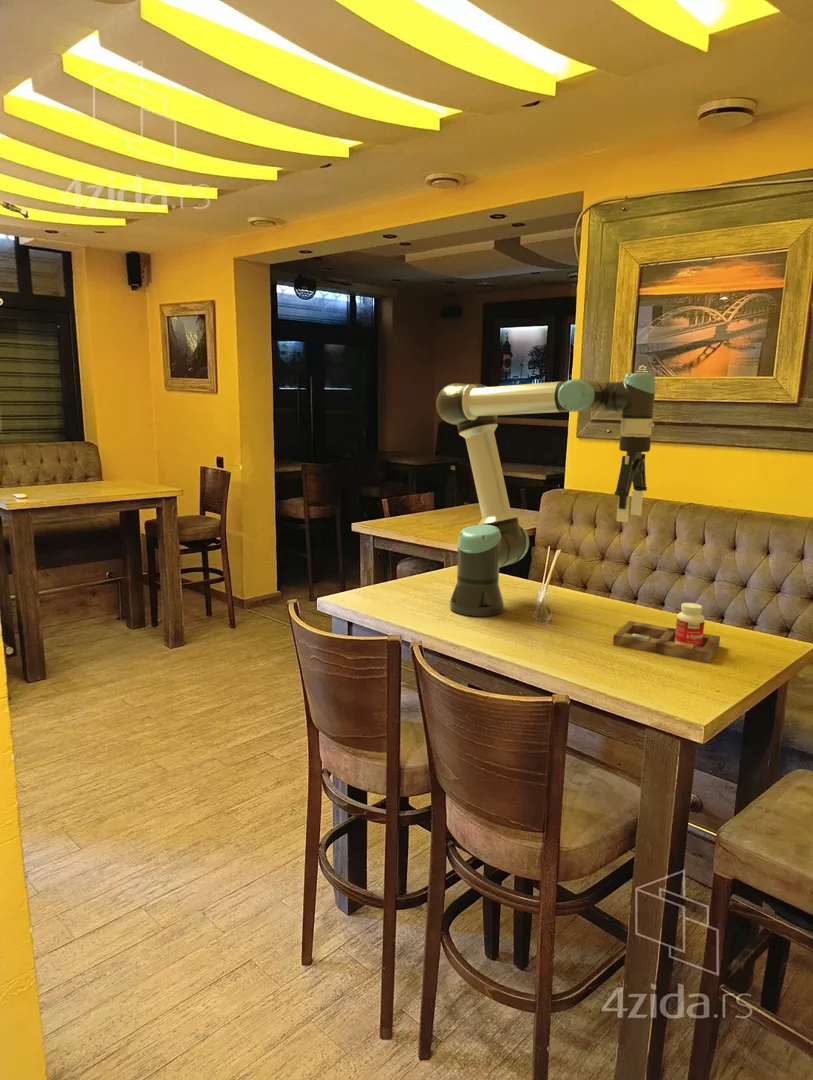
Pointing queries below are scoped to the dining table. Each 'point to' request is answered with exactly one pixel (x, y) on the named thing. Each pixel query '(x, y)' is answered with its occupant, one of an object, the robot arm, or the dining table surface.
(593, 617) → the dining table surface
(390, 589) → the dining table surface
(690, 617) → the pill bottle
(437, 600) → the dining table surface
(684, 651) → the socket board
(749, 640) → the dining table surface
